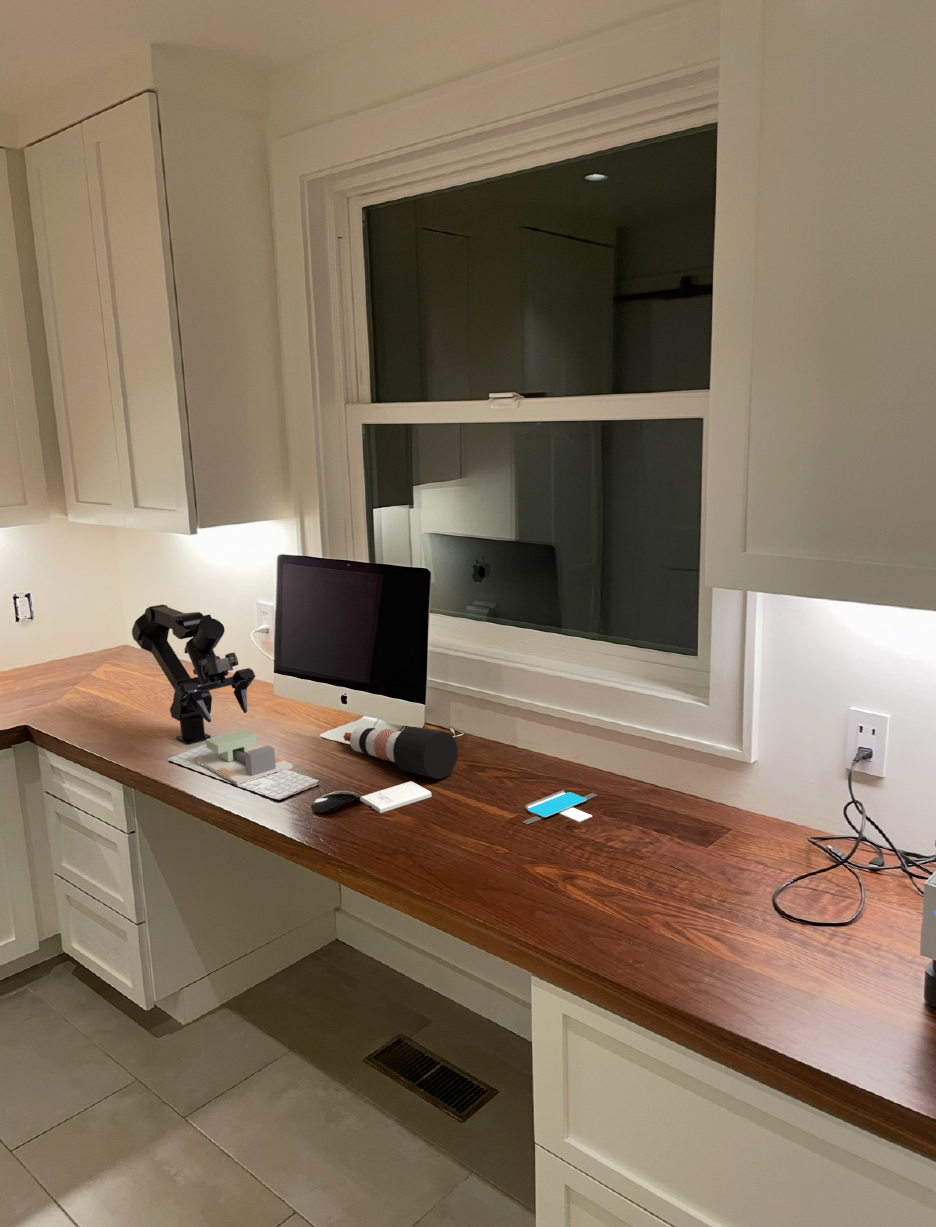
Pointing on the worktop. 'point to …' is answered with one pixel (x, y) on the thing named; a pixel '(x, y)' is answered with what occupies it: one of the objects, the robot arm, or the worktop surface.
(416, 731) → the banded black grey cylinder
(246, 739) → the green block
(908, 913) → the worktop surface
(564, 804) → the phone stand
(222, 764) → the board
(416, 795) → the external hard drive
